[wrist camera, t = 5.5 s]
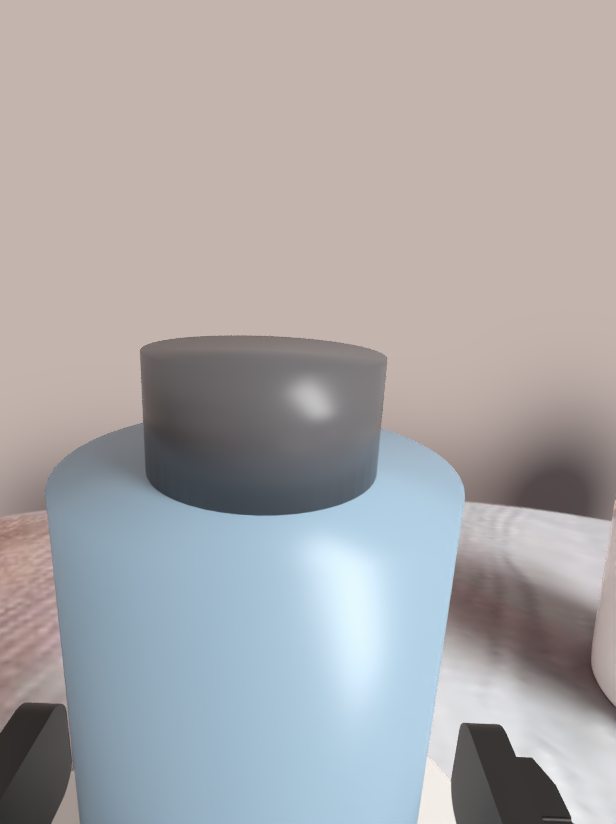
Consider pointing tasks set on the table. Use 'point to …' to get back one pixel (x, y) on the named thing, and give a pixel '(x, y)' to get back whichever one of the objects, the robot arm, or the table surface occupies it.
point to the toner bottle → (253, 592)
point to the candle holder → (606, 623)
